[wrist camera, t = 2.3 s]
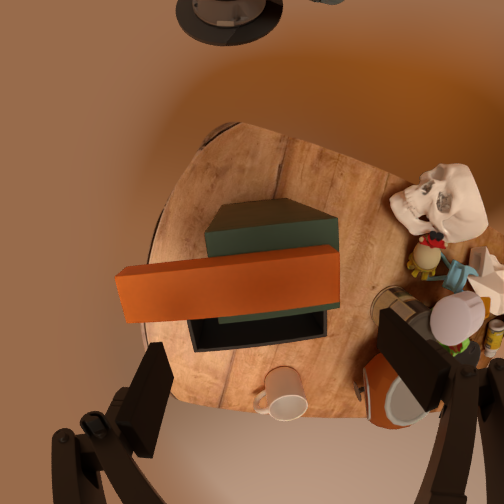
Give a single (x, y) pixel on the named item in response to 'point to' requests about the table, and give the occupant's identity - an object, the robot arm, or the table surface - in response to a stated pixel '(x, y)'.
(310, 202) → the table surface
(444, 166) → the white skull
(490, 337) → the pill bottle
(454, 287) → the chair
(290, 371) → the mug
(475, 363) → the board
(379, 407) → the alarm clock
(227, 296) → the orange rectangular bar
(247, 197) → the table surface
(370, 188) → the table surface
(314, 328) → the black open rectangular box
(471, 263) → the white folded paper piece
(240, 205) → the stand
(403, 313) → the coffee can
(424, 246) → the toy
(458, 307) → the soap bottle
